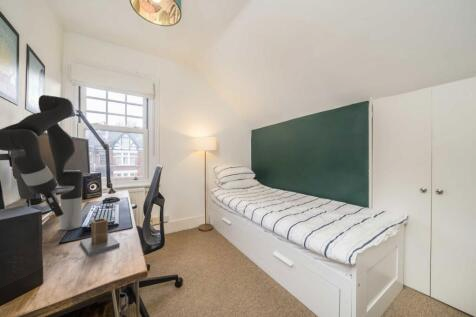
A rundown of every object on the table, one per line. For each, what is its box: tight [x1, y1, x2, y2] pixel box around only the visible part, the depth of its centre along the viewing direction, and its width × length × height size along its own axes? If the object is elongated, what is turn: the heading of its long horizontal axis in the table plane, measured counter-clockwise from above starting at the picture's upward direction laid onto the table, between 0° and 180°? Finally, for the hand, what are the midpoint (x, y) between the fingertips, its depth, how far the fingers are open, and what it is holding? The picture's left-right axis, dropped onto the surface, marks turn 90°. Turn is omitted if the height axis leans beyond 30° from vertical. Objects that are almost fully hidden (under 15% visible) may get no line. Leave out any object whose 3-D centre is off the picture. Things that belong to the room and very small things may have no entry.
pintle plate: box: [80, 232, 121, 257], centre depth 85 cm, size 17×11×8 cm, turn 50°
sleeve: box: [90, 217, 109, 245], centre depth 84 cm, size 5×5×10 cm
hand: (58, 210), depth 78 cm, fingers open, 8 cm apart
